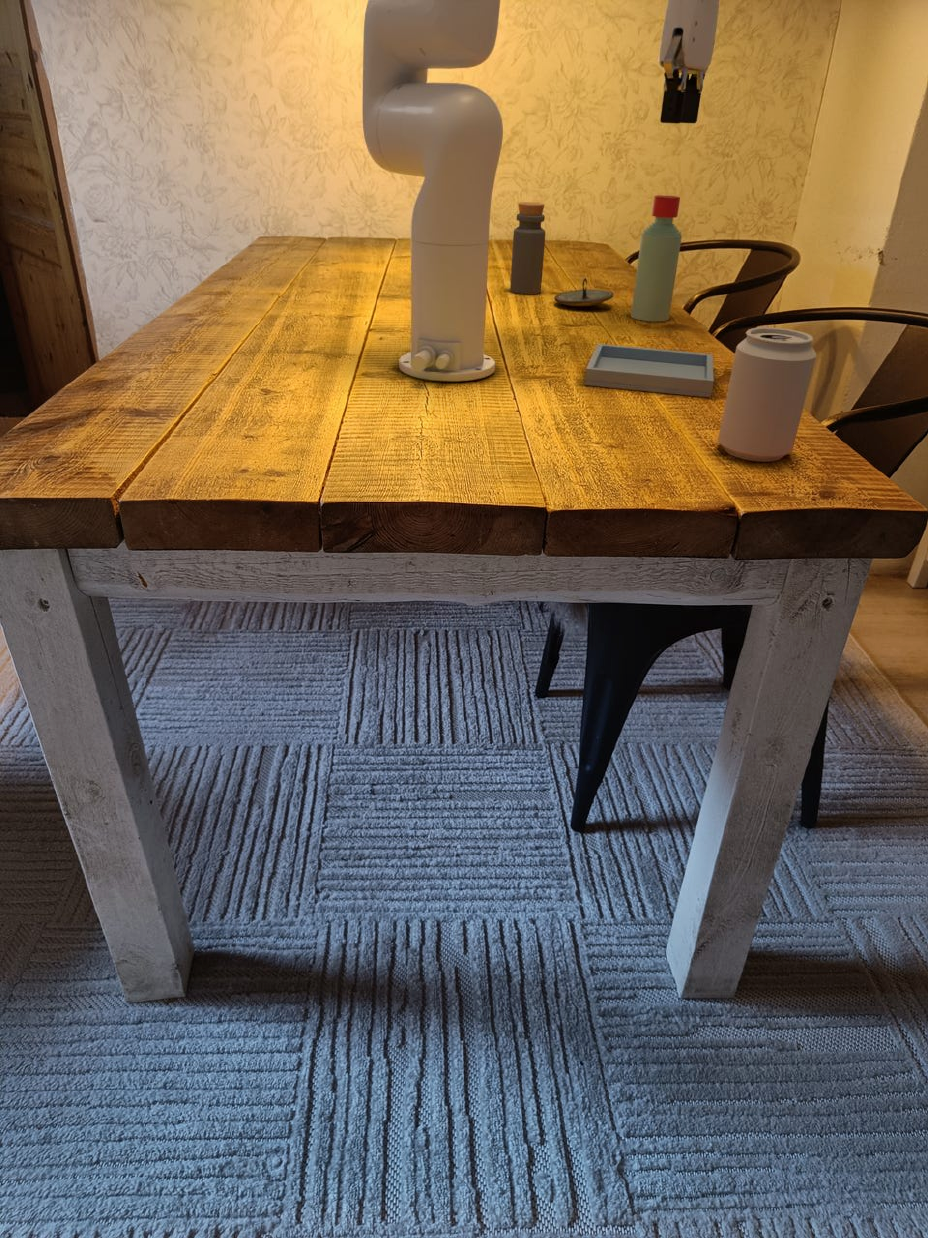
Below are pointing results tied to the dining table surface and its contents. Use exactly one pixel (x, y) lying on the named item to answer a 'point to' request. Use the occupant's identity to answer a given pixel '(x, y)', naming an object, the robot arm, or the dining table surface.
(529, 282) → the bottle
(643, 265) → the water bottle
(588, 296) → the lid
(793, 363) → the can
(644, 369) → the tray
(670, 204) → the cap
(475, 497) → the dining table surface
